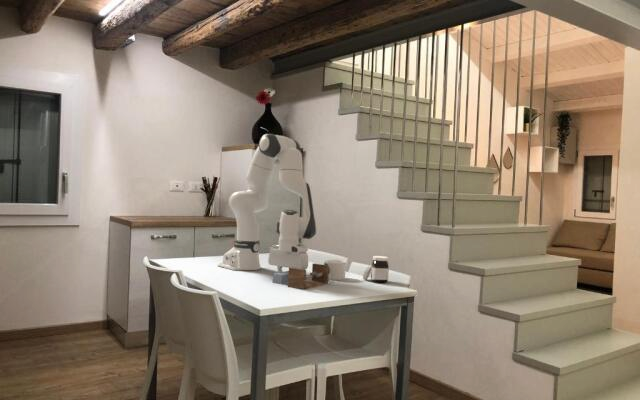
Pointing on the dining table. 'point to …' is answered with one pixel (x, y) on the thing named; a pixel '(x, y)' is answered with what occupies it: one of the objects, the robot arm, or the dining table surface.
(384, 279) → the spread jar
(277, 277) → the blue-grey block
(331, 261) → the mug
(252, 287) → the dining table surface
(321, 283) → the wooden u-shaped block
